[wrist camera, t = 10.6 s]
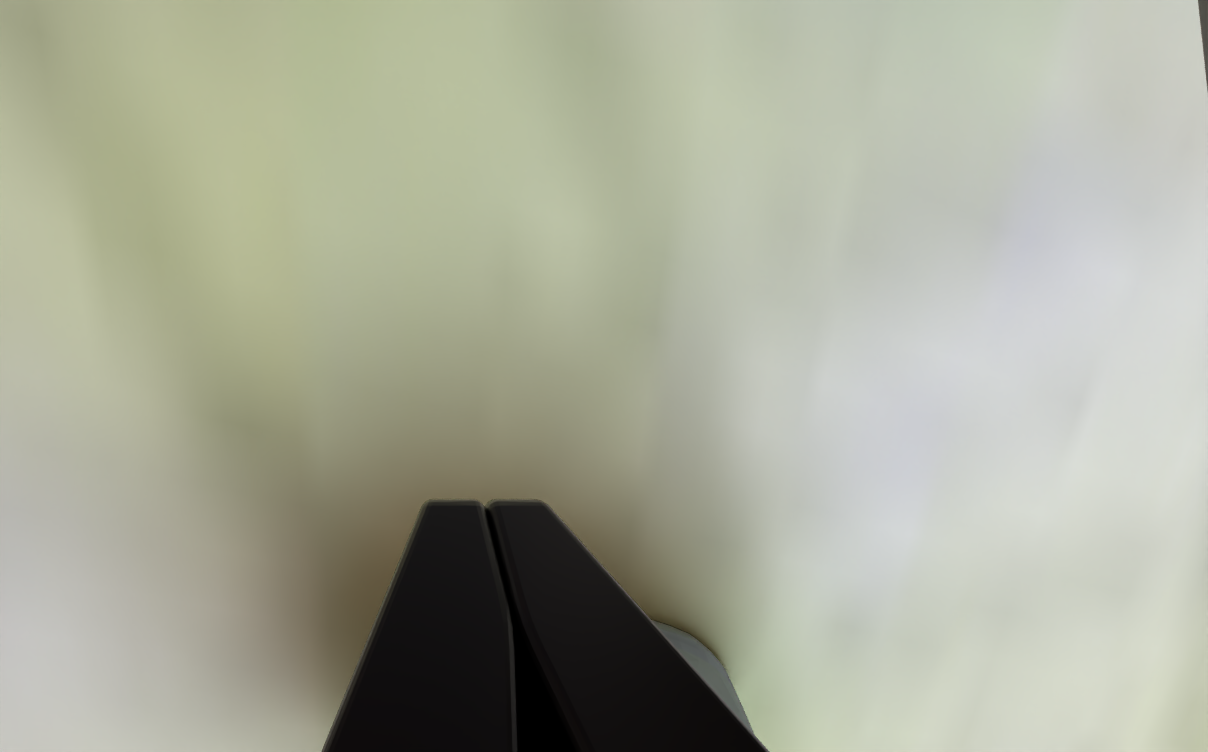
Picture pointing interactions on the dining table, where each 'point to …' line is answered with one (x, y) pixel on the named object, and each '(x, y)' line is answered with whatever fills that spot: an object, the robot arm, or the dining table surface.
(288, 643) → the dining table surface
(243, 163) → the dining table surface
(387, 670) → the robot arm
